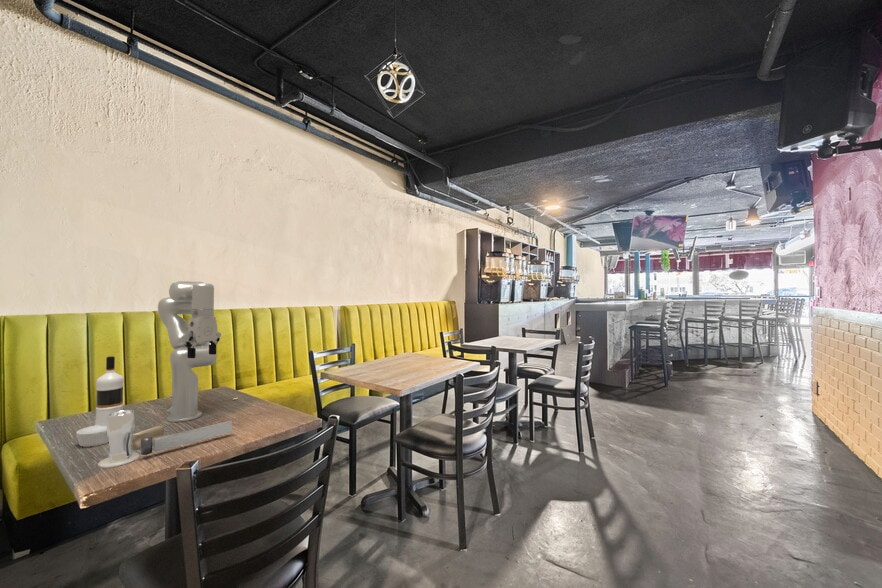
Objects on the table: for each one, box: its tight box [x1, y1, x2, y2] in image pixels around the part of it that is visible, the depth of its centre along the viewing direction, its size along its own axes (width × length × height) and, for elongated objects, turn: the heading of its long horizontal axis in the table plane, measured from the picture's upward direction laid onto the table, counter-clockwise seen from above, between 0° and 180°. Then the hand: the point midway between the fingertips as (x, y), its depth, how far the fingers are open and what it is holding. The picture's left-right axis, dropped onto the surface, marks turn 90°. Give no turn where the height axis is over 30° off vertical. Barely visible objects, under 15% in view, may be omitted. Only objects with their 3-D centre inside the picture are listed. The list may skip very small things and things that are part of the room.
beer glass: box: [107, 409, 136, 462], centre depth 119 cm, size 7×7×15 cm
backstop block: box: [131, 425, 165, 450], centre depth 133 cm, size 3×9×5 cm, turn 167°
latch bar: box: [140, 420, 233, 456], centre depth 131 cm, size 3×28×5 cm, turn 140°
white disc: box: [97, 452, 140, 469], centre depth 119 cm, size 10×10×1 cm
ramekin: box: [75, 424, 109, 448], centre depth 134 cm, size 11×11×5 cm
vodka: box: [94, 355, 125, 425], centre depth 146 cm, size 9×9×30 cm
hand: (202, 356), depth 146 cm, fingers open, 9 cm apart
